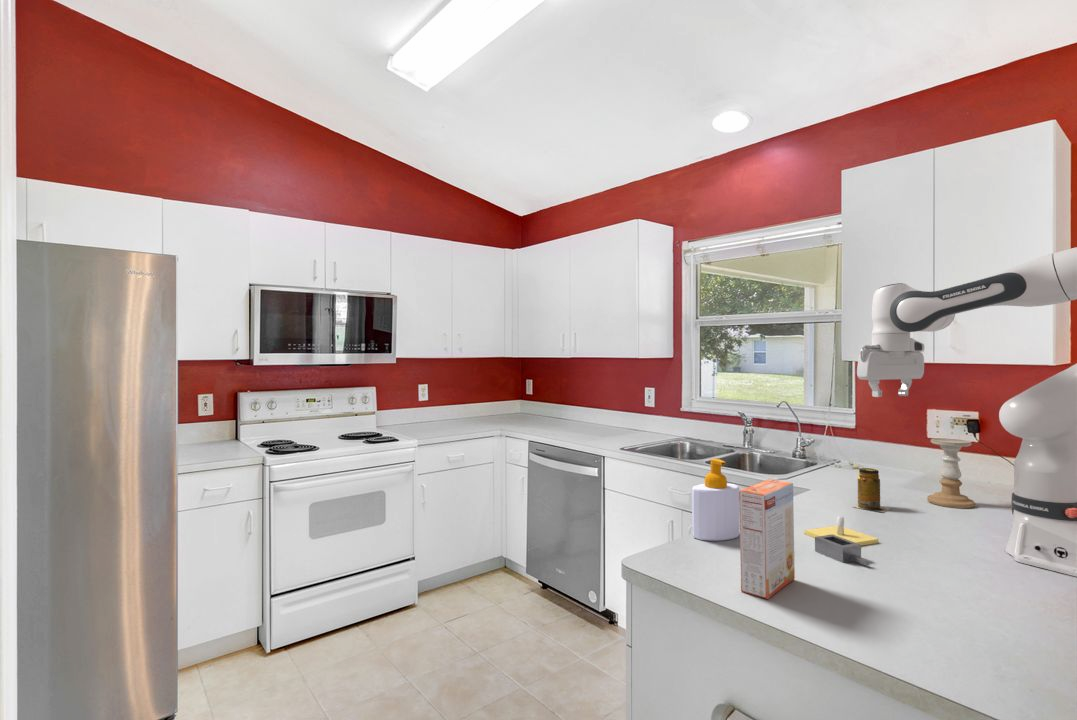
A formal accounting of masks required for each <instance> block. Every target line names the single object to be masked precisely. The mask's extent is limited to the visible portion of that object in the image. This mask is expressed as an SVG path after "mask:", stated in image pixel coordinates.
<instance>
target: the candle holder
mask: <svg viewBox="0 0 1077 720" xmlns="http://www.w3.org/2000/svg"><path fill="white" fill-rule="evenodd" d="M930 443H932V444H933V445H938V446H940V449H941V450H942V451H943V455H942V456H941V457H940V459H941V461H942V466H941V469H940V472H939V475H940V477H942V478H941V479H939V483H940V485H941V491H936V492H934V493H933V494H929V495H927V497H926V500H927V502H929V503H931V504H933V505H936V506H940V507H946V508H955V509H971V508H975V507H976V502H975V501H974V500H972V499H971V498H969V497H968V496H967V495H964V494H961V490H960V487H961V486H962V485H963V482H962V481H961V480H960V478H961V477H962V471H961V469H960V466H959V462H960V461H961V458H960V457H959V456H958V452H959V451H961V450H962V447H970V446H971V445H972V442H971V441H970V440H966V439H957V438H942V437H941V438H938V437H937V438H936V437H935V438H931V439H930Z"/></svg>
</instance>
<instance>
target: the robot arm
mask: <svg viewBox="0 0 1077 720" xmlns="http://www.w3.org/2000/svg"><path fill="white" fill-rule="evenodd" d="M1075 300H1077V246H1076V247H1073V248H1068V249H1064V250H1060V251H1057V252H1056V251H1055V252H1053V253H1049V254H1046V255H1043V256H1040V257H1038V258H1034V259H1032V260H1029V261H1027V262H1024V263H1021V264H1020V265H1019V264H1018V265H1016V266H1013V267H1011V268H1008V269H1006V270H1004V271H1001V272H998V273H996V274H994V275H991V276H988V277H984V278H981V279H977V280H974V281H970V282H967V283H963V284H960V285H955V286H951V287H947V288H944V289H941V290H939V289H938V290H934V291H925V290H919V289H917V288H914V287H911V286H909V284H907V283H903V282H902V283H901V282H900V283H898V282H897V283H891V284H887V285H882V286H881V287H879V288H877V289H876V290H875V291H874V293H873V296H872V303H871V321H872V325H873V326H872V330H871V344H865V345H864V346H863V347H862V348H861V349H860V350H859V355H858V359H857V366H856V367H857V368H856V375H857V378H858V380H863V381H868V386H869V387H870V389H871V395H872V398H873V397H875V398H881V397H883V390H882V389H880V386H879V385H880V380H884V381H885V380H900V383H901V387H900V388H898V391H897V392H898V393H897V395H898V396H899V397H908V396H909V390H910V388H911V386H912V383H913V380H917V379H920V380H921V379H922V378H923V376H924V374H925V356H924V354H923V352H924V351H925V343H923V342H920V341H919V340H916V339H914V338H913V337H911V333H916V332H939V331H941V330H944V329H945V328H948V327H949V326H950V325H951V324H952V322H953V321H954V319H955V317H956V315H957V314H960V313H966V312H969V311H973V310H977V309H981V308H986V307H987V308H988V307H996V306H1002V307H1003V306H1008V307H1025V308H1026V307H1029V308H1031V307H1044V306H1050V305H1057V304H1062V303H1066V302H1071V301H1075ZM998 413H999V414H998V418H999V422H1000V424H1001V426H1002V428H1003V429H1004V430H1005V431H1006V432H1008V433H1009V434H1011V435H1012V436H1015V437H1017V438H1020V439H1022V441H1021V444H1020V447H1019V450H1018V453H1017V455H1016V457H1015V458H1014V461H1013V463H1014V464H1013V484H1014V485H1013V492H1012V493H1011V514H1012V524H1011V530H1010V534H1009V538H1008V541H1007V544H1006V546H1005V548H1004V551H1005V552H1006V553H1007V554H1008V555H1010V556H1012V557H1013V559H1014V561H1015V562H1018V563H1021V564H1025V565H1030V566H1034V567H1037V568H1041V569H1045V570H1049V571H1053V572H1058V573H1061V574H1065V575H1068V576H1069V575H1070V576H1072V577H1076V578H1077V362H1076V363H1075V364H1073V365H1071V366H1070V367H1068V368H1066V369H1064V370H1062V371H1060V372H1058V373H1056V374H1053V375H1052V376H1049V377H1048V378H1046V379H1044V380H1042V381H1041V382H1039V383H1037V384H1035V385H1033V386H1031V387H1029V388H1027V389H1026V390H1024V391H1022V392H1020V393H1019V394H1016V395H1014V396H1013V397H1011V398H1009V399H1008V400H1006V401H1005V402H1004V403H1003V404H1002V406H1001V407H1000V408H999V412H998Z"/></svg>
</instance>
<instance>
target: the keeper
mask: <svg viewBox="0 0 1077 720" xmlns="http://www.w3.org/2000/svg"><path fill="white" fill-rule="evenodd" d="M803 534H804V535H807V536H808V537H811V538H813V539H815V537H818V536H825V535H832V534H833V535H836V536H838V537H841V538H844V539H847V540H849V541H852V542H855V543H858V544H860V545H861V547H862V546H868V545H872V544H873V545H875V544H879V538H877V537H875V536H872V535H868V534H865V533H863V532H859V531H857V530H854V529H850V528H848V527H845V517H844V516H840V515H839V516H836V525H833V526H832V525H831V526H830V525H829V526H824V527H818V528H812V529H805V530H804V533H803Z"/></svg>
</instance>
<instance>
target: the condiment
mask: <svg viewBox="0 0 1077 720" xmlns="http://www.w3.org/2000/svg"><path fill="white" fill-rule="evenodd" d="M858 472H859V473H858V477H857V504H856V505H853V506H852V508H856V509H861V510H867V511H873V512H880V513H885V512H888V511H890V510H891V509H892V508H891V507H885V506H881V479H880V474H879V470H878V469H875V468H869V467H861V468H859V470H858Z"/></svg>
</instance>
